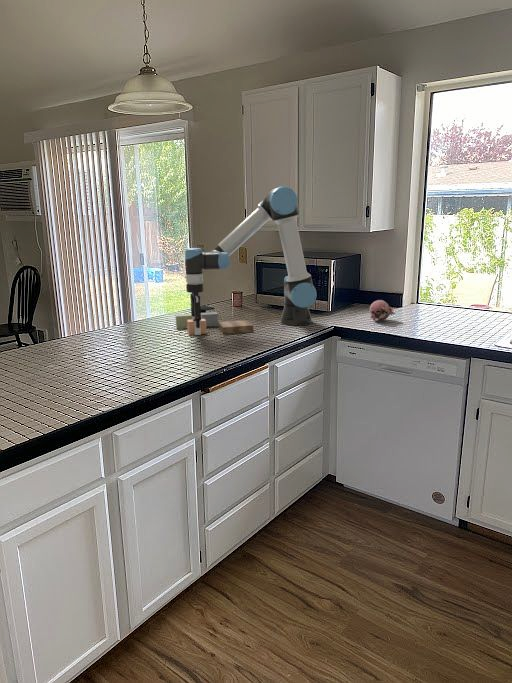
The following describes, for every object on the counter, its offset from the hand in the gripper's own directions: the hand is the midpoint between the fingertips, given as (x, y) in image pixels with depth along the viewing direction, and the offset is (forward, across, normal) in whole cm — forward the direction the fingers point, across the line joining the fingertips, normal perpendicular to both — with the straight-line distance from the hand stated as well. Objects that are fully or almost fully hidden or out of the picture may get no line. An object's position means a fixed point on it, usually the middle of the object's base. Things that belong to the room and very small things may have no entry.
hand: (196, 332), depth 240 cm
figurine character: (+1, -27, +7) cm, 28 cm away
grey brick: (0, -14, +8) cm, 16 cm away
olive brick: (0, -14, -4) cm, 15 cm away
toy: (0, +5, +90) cm, 90 cm away
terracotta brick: (0, 0, 0) cm, 0 cm away
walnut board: (0, 0, +18) cm, 18 cm away
